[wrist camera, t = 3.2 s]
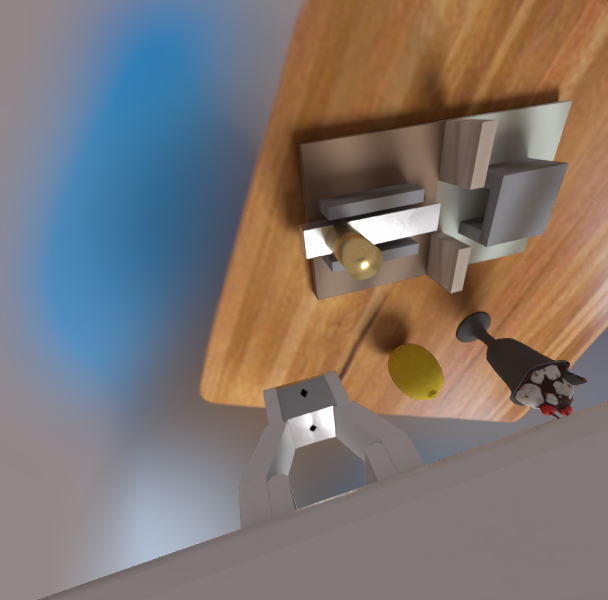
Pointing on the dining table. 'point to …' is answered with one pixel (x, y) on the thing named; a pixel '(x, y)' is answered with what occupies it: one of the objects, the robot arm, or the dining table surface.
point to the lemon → (415, 371)
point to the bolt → (367, 235)
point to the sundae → (524, 369)
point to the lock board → (439, 190)
